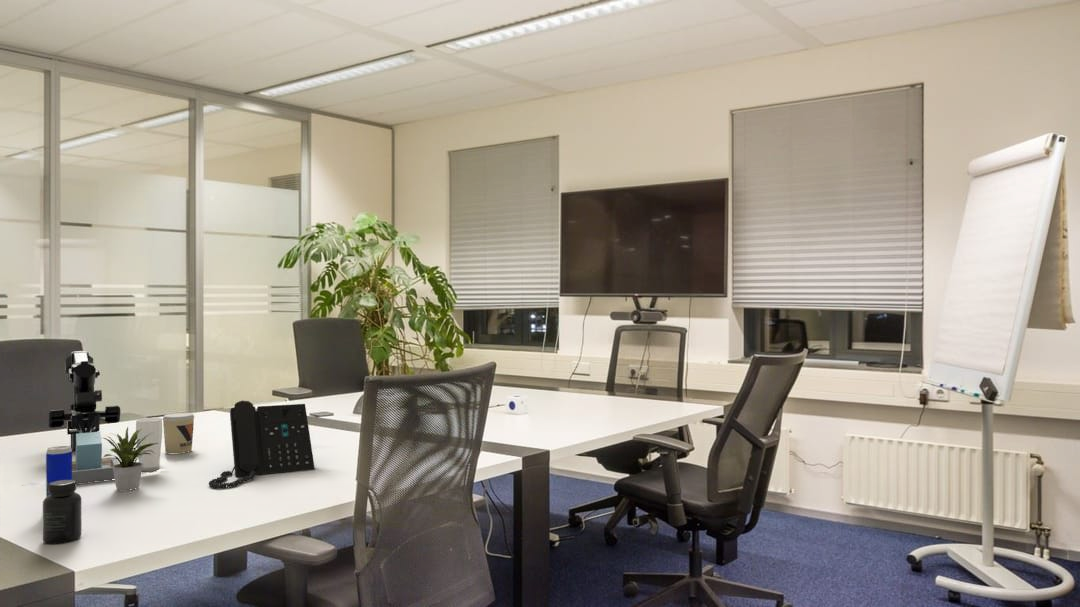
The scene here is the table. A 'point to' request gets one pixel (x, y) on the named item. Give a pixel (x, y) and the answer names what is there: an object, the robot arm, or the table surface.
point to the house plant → (128, 461)
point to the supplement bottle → (62, 513)
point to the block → (88, 451)
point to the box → (94, 474)
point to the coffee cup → (178, 432)
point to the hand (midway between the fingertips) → (86, 439)
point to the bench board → (103, 462)
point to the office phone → (267, 441)
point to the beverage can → (58, 465)
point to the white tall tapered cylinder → (146, 428)
